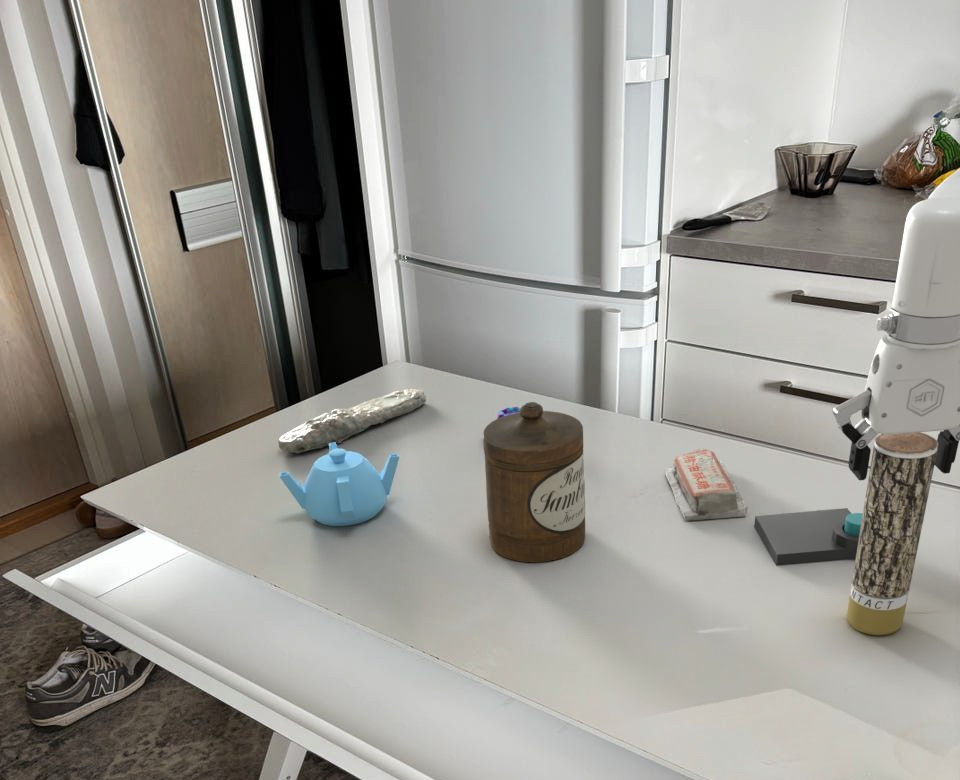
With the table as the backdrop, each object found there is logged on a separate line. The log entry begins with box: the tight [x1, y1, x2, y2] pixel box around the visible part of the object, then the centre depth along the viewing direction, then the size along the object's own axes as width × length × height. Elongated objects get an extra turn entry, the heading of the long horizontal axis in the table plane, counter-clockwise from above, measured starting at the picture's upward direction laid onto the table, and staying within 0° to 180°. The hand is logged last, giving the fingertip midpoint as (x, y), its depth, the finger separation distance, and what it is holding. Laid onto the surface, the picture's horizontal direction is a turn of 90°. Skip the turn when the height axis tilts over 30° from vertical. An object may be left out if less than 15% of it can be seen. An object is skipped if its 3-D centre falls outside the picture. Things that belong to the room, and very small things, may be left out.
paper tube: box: [846, 432, 938, 636], centre depth 119 cm, size 7×7×25 cm
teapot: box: [278, 442, 400, 527], centre depth 162 cm, size 15×15×11 cm
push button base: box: [753, 507, 859, 567], centre depth 143 cm, size 15×13×4 cm
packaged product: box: [664, 448, 748, 521], centre depth 158 cm, size 18×5×10 cm
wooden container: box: [482, 401, 586, 563], centre depth 146 cm, size 15×15×22 cm
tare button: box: [844, 512, 863, 536], centre depth 139 cm, size 4×4×2 cm
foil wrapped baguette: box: [278, 388, 427, 454], centre depth 194 cm, size 35×5×10 cm
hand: (899, 472), depth 114 cm, fingers open, 9 cm apart
